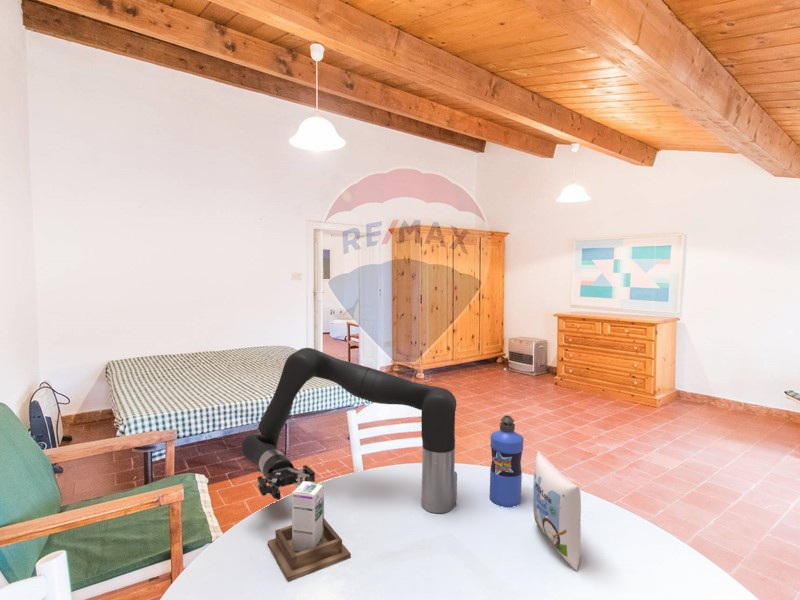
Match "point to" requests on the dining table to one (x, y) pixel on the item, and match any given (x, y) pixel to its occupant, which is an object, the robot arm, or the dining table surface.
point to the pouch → (557, 509)
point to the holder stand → (307, 553)
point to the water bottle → (506, 465)
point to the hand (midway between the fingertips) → (295, 491)
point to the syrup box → (307, 516)
